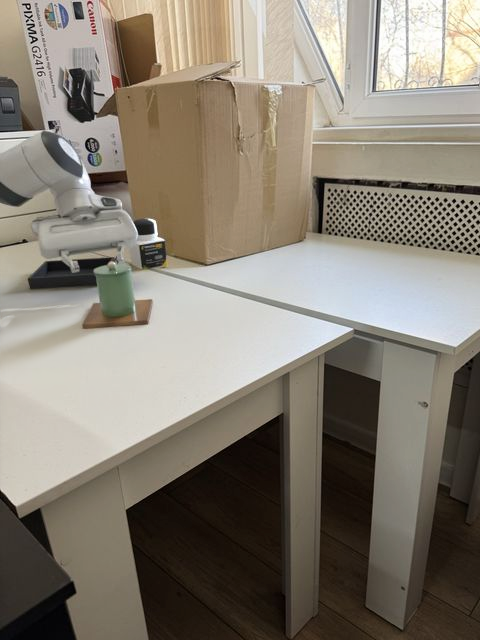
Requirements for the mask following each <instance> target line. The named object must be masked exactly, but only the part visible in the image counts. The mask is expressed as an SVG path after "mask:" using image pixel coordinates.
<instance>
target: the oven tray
mask: <svg viewBox="0 0 480 640" xmlns="http://www.w3.org/2000/svg"><path fill="white" fill-rule="evenodd" d="M115 258H116V256H113V257H112V256H111V257H108V256H107V257H91V258H76V259H74V258H73V259H71V260H72V261H77V262H78V265H79V268H80V270H79V272H75V273H72V272H71V269H70V266H68V265H67V264H65V263H64V262H63V261H62V259H59V260H56V259H55V260H45V261H44V262H43V263H41V265H40V266H39V267H38V268H36V270H34V271H33V273H32V274H30V276H29V277H27V282H28V286H29V290H42V289H53V288H54V289H59V288H72V287H73V288H75V287H88V286H89V287H91V286H97V283H96V277H95V275H94V272H93V271H94V269H96V268H98V267H100V266H104V265H108V263H109V262H111V261H112V262H115V263H116V260H115Z"/></svg>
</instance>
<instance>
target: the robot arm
mask: <svg viewBox="0 0 480 640" xmlns="http://www.w3.org/2000/svg"><path fill="white" fill-rule="evenodd" d="M91 186H92V183H91V178H90V176H89V174H88V171H87V169H86V166H85V165H84V163H83V161H82V159H81V157H80V155H79V153H78V151H77V150H76V148H75V147H74V146H73V145H72V143H71V142H70V141H69V140H68V139H67V138H65V137H64V136H62V135H60V134H58V133H55V132H52V131H48V130H42V131H40V132H38V133H36V134H34V135H31V136H30V137H27V138H26V139H24V140H23V141H21V142H20V143H18V144H15V146H12V147H11V148H9V149H7V150H5V151H3V152H0V204H2V205H4V206H9V207H15V208H19V207H22V206H23V205H24V204H26V203H27V202H29V201H30V200H33V198H34V197H36V196H37V195H39V194H41V193H44V192H45V191H47V190H49V191H50V193H51V195H52V196H53V198H54V200H53V203H54V207H55V210H56V212H57V214H53V215H48V216H37V217H36V218H35V219H33V220H32V221H31V222H30V228H31V231H32V234H33V235H35V236H36V237H37V243H38V249H39V253H40V255H41V257H43V258H44V259H46V260H51V259H57V258H60V260H62V261H63V262H64V263H65V264H67V265H68V266H70V269H71V272H72V273H75V272H79V270H80V268H79V265H78V262H77V261H72V260H73V259H71V256H77V255H84V254H91V253H97V252H104V251H110V250H111V251H112V250H116V251H117V252H118V253H119V254H115V263H116V264H126V260H125V257H124V253H125V249H126V248H129V247H132V246H135V244H136V242H137V239H138V232H137V230H136V227H135V225H134V223H133V221H134V220H133V219H132V217H131V216H130V214H129V213H128V212H127V211H126V210H124V209H123V203H122V200H121V199H119V198H117V197H111V196H110V197H109V196H104V195H100V194H96V193H95V191H94V190H93V189H92V187H91Z"/></svg>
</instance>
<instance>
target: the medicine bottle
mask: <svg viewBox="0 0 480 640" xmlns="http://www.w3.org/2000/svg"><path fill="white" fill-rule="evenodd" d="M132 221H133V223H134V225H135V227H136V230H137V232H138V239H137V242H136V244H135V246H132V247H128V250H129V256H130V264H131V266H134V267H136V268H137V269H140V270H148V269H153V268H160V269H162V268H166V267H167V268H168V258H167V249H166V240H165V239H164V238H162V237H159V236H158V226H157V225H158V224H157V221H156V220H155V219H153V218H138V219H135V220H132Z"/></svg>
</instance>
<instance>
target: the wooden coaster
mask: <svg viewBox="0 0 480 640" xmlns="http://www.w3.org/2000/svg"><path fill="white" fill-rule="evenodd" d="M153 300H154V299H153V298H150V299H135V304H136V311H135V312H134V313H132V314H129V315H126V316H122V317H107V316H104V315H103V314H102V311H101V305H100V302H93V303H92V305H91V307H90V310H89V311H88V313H87V315H86V317H85V318H84V321H83V322H82V324H81V326H82V329H95V328H97V329H98V328H110V327H124V326H125V327H126V326H138V325H139V326H140V325H148V324H149V321H150V316H151V312H152V308H153V304H154V301H153Z"/></svg>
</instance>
